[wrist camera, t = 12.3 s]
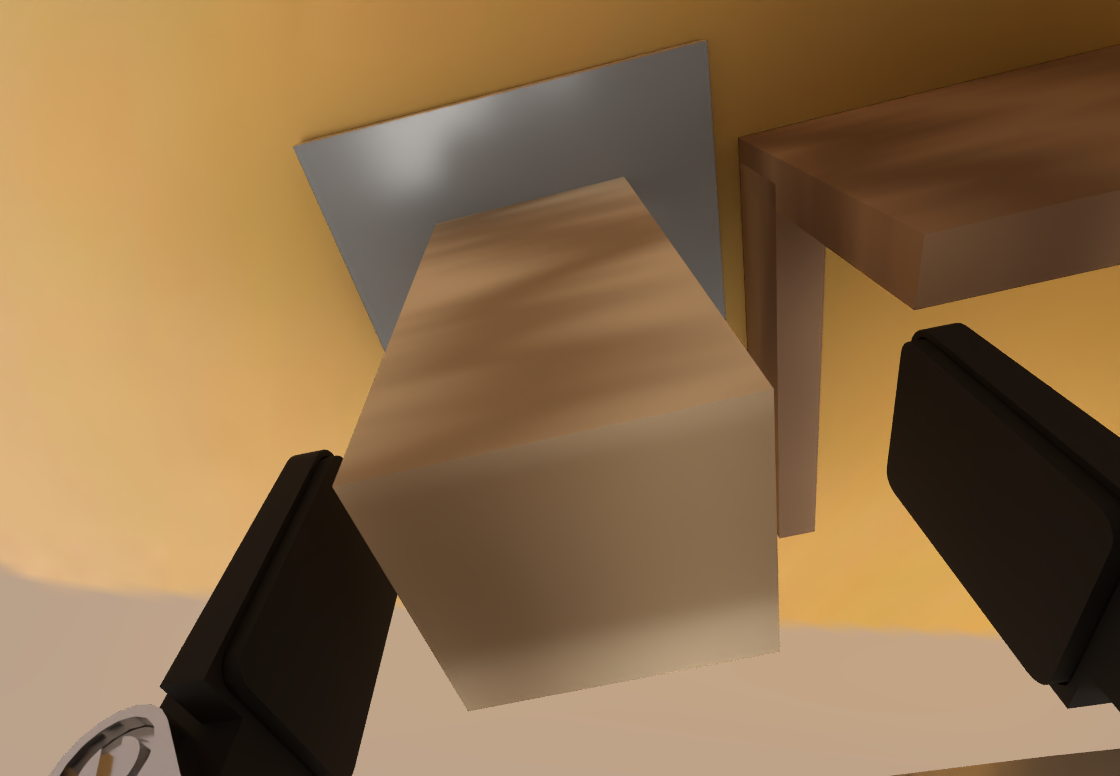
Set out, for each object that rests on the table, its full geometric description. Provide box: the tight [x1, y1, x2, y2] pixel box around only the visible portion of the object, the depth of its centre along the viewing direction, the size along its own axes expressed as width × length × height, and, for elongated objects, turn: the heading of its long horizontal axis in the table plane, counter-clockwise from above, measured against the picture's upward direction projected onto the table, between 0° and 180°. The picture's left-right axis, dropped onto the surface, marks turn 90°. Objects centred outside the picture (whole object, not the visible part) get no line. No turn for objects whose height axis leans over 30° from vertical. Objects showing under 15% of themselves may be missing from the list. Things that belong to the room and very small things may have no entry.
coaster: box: [293, 40, 726, 351], centre depth 16 cm, size 10×10×1 cm
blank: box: [332, 177, 780, 711], centre depth 12 cm, size 5×5×10 cm
